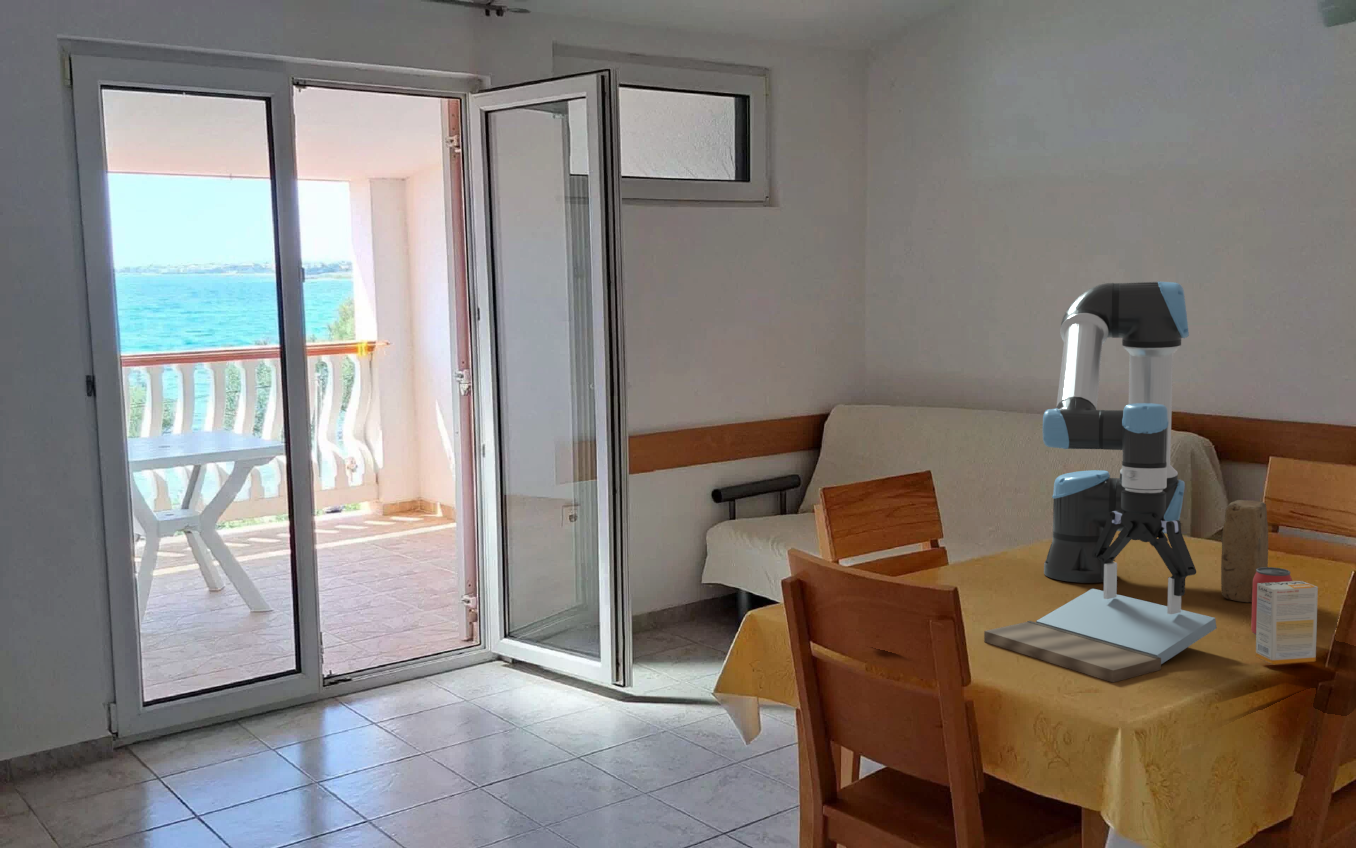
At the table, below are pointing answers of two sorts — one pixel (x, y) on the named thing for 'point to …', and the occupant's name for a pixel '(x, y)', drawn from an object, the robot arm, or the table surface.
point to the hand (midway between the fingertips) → (1141, 605)
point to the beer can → (1266, 577)
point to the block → (1243, 548)
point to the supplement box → (1286, 622)
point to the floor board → (1073, 651)
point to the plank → (1130, 623)
